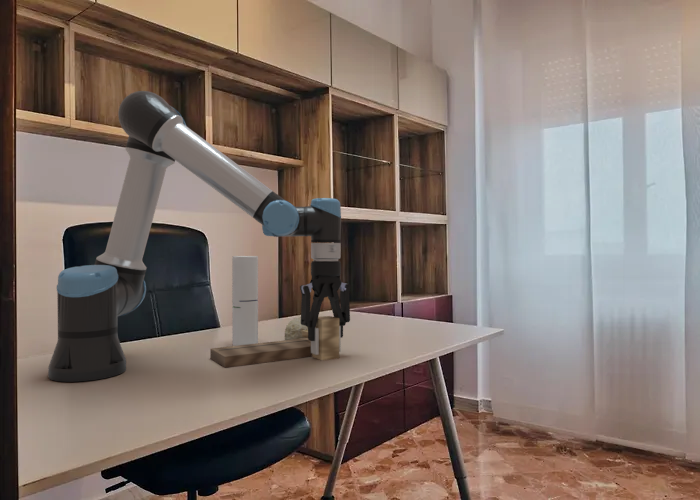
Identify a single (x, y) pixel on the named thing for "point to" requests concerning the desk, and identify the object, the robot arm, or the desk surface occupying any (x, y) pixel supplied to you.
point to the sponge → (295, 329)
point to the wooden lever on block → (327, 337)
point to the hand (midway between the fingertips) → (325, 352)
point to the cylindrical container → (244, 300)
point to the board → (261, 352)
